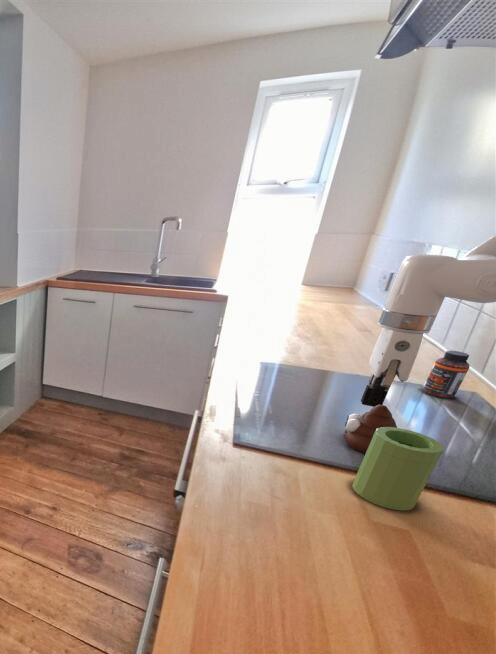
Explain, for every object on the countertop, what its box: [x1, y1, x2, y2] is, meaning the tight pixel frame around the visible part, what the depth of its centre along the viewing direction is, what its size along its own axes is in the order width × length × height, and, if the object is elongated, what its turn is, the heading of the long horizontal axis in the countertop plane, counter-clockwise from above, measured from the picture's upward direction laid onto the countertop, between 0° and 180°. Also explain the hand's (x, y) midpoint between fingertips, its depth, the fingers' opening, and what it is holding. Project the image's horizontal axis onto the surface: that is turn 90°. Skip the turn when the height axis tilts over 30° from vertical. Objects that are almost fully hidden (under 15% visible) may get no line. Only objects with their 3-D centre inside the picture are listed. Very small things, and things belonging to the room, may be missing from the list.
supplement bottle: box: [422, 350, 471, 399], centre depth 104 cm, size 6×6×11 cm
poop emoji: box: [343, 404, 398, 454], centre depth 82 cm, size 10×8×9 cm
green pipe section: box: [352, 427, 445, 512], centre depth 67 cm, size 8×8×11 cm
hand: (370, 404), depth 88 cm, fingers closed
